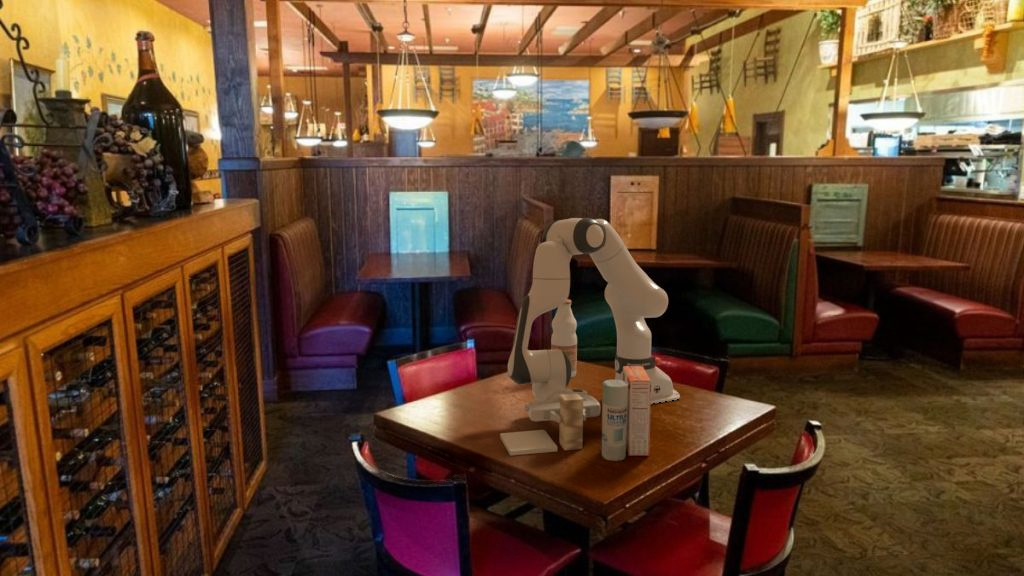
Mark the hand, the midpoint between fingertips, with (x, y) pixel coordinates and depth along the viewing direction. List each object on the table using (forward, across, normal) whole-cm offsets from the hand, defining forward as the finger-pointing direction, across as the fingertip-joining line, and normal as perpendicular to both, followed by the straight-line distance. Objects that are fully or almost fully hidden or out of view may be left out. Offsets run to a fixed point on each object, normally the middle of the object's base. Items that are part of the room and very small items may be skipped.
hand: (572, 419), depth 191 cm
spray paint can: (+8, +9, +8) cm, 15 cm away
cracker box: (+3, +17, +8) cm, 19 cm away
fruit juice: (-66, +18, +8) cm, 69 cm away
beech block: (-1, 0, +8) cm, 8 cm away
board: (-5, -11, +8) cm, 15 cm away
